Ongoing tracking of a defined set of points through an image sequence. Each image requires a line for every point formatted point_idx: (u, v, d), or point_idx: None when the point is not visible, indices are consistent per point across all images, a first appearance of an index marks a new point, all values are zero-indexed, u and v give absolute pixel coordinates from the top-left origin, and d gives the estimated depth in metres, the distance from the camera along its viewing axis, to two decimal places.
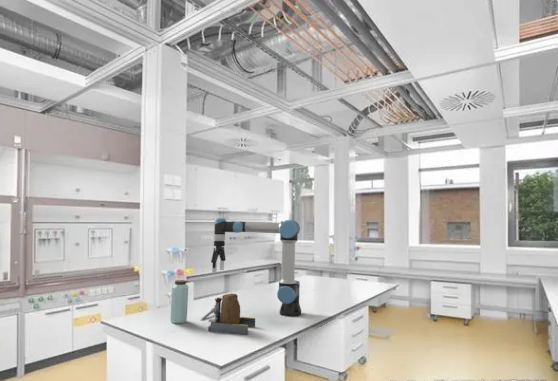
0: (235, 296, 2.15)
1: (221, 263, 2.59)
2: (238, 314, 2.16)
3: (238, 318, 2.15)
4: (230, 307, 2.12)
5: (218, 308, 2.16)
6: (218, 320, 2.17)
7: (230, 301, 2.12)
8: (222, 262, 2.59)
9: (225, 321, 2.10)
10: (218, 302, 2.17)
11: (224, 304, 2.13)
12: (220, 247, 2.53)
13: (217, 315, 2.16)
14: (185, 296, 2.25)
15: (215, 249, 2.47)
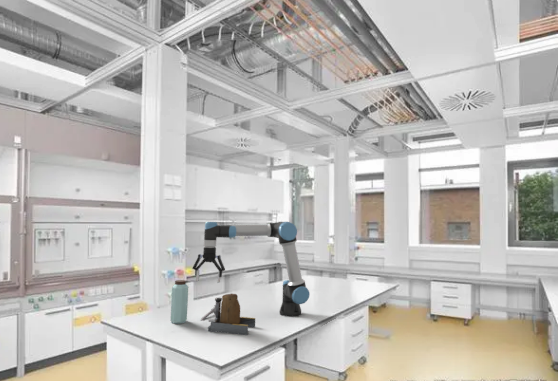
0: (235, 296, 2.15)
1: None
2: (238, 314, 2.16)
3: (238, 318, 2.15)
4: (230, 307, 2.12)
5: (218, 308, 2.16)
6: (218, 320, 2.17)
7: (230, 301, 2.12)
8: None
9: (225, 321, 2.10)
10: (218, 302, 2.17)
11: (224, 304, 2.13)
12: (208, 254, 2.24)
13: (217, 315, 2.16)
14: (185, 296, 2.25)
15: None
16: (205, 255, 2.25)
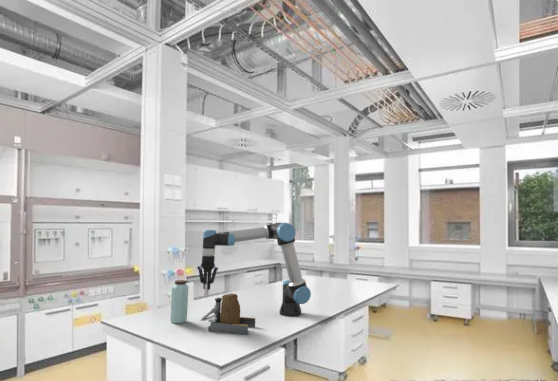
0: (235, 296, 2.15)
1: None
2: (238, 314, 2.16)
3: (238, 318, 2.15)
4: (230, 307, 2.12)
5: (218, 308, 2.16)
6: (218, 320, 2.17)
7: (230, 301, 2.12)
8: None
9: (225, 321, 2.10)
10: (218, 302, 2.17)
11: (224, 304, 2.13)
12: (207, 263, 2.20)
13: (217, 315, 2.16)
14: (185, 296, 2.25)
15: None
16: (203, 263, 2.21)
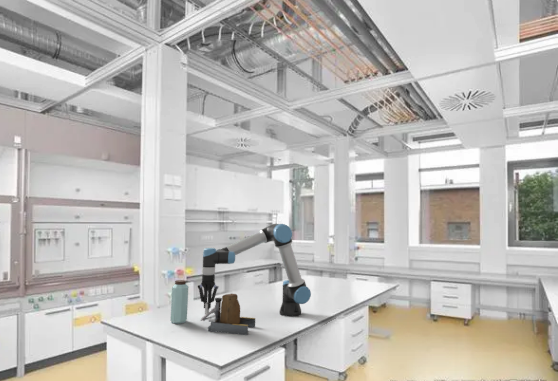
0: (235, 296, 2.15)
1: None
2: (238, 314, 2.16)
3: (238, 318, 2.15)
4: (230, 307, 2.12)
5: (218, 308, 2.16)
6: (218, 320, 2.17)
7: (230, 301, 2.12)
8: None
9: (225, 321, 2.10)
10: (218, 302, 2.17)
11: (224, 304, 2.13)
12: (207, 282, 2.19)
13: (217, 315, 2.16)
14: (185, 296, 2.25)
15: None
16: (203, 282, 2.20)
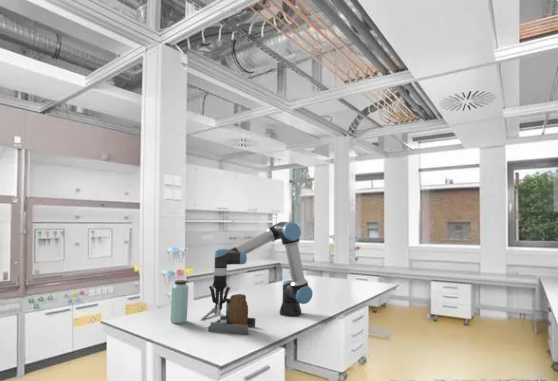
0: (243, 297, 2.14)
1: None
2: (246, 315, 2.15)
3: (246, 319, 2.15)
4: (238, 308, 2.11)
5: None
6: None
7: (239, 302, 2.11)
8: None
9: (233, 322, 2.09)
10: (229, 303, 2.15)
11: (232, 305, 2.11)
12: (218, 283, 2.18)
13: (228, 316, 2.15)
14: (185, 296, 2.25)
15: None
16: (215, 282, 2.18)
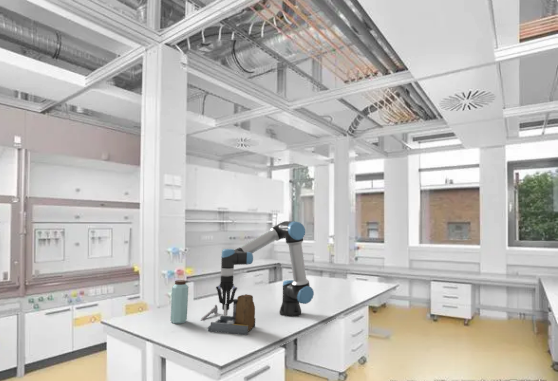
0: (251, 297, 2.13)
1: None
2: (253, 315, 2.14)
3: (253, 319, 2.14)
4: (246, 309, 2.10)
5: None
6: None
7: (246, 302, 2.10)
8: None
9: (241, 322, 2.08)
10: (236, 303, 2.14)
11: (239, 306, 2.10)
12: (225, 283, 2.17)
13: (235, 317, 2.14)
14: (185, 296, 2.25)
15: None
16: (221, 283, 2.17)
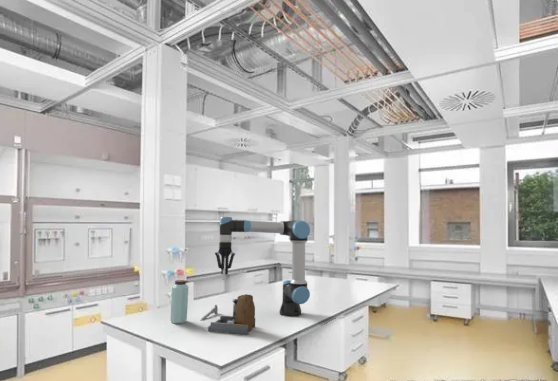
0: (251, 297, 2.13)
1: None
2: (253, 315, 2.14)
3: (253, 319, 2.14)
4: (246, 309, 2.10)
5: None
6: None
7: (246, 302, 2.10)
8: None
9: (241, 322, 2.08)
10: (236, 303, 2.14)
11: (239, 306, 2.10)
12: (224, 249, 2.27)
13: (235, 317, 2.14)
14: (185, 296, 2.25)
15: None
16: (220, 249, 2.28)
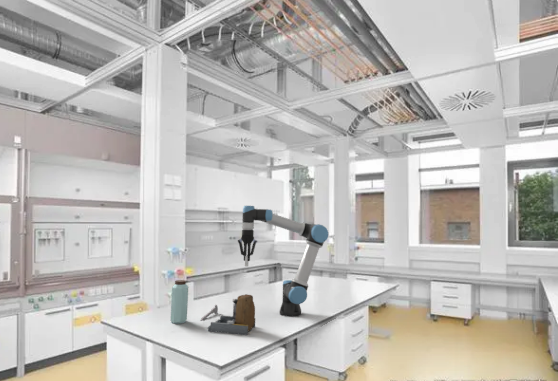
0: (251, 297, 2.13)
1: None
2: (253, 315, 2.14)
3: (253, 319, 2.14)
4: (246, 309, 2.10)
5: None
6: None
7: (246, 302, 2.10)
8: None
9: (241, 322, 2.08)
10: (236, 303, 2.14)
11: (239, 306, 2.10)
12: (246, 236, 2.36)
13: (235, 317, 2.14)
14: (185, 296, 2.25)
15: None
16: (243, 236, 2.37)
